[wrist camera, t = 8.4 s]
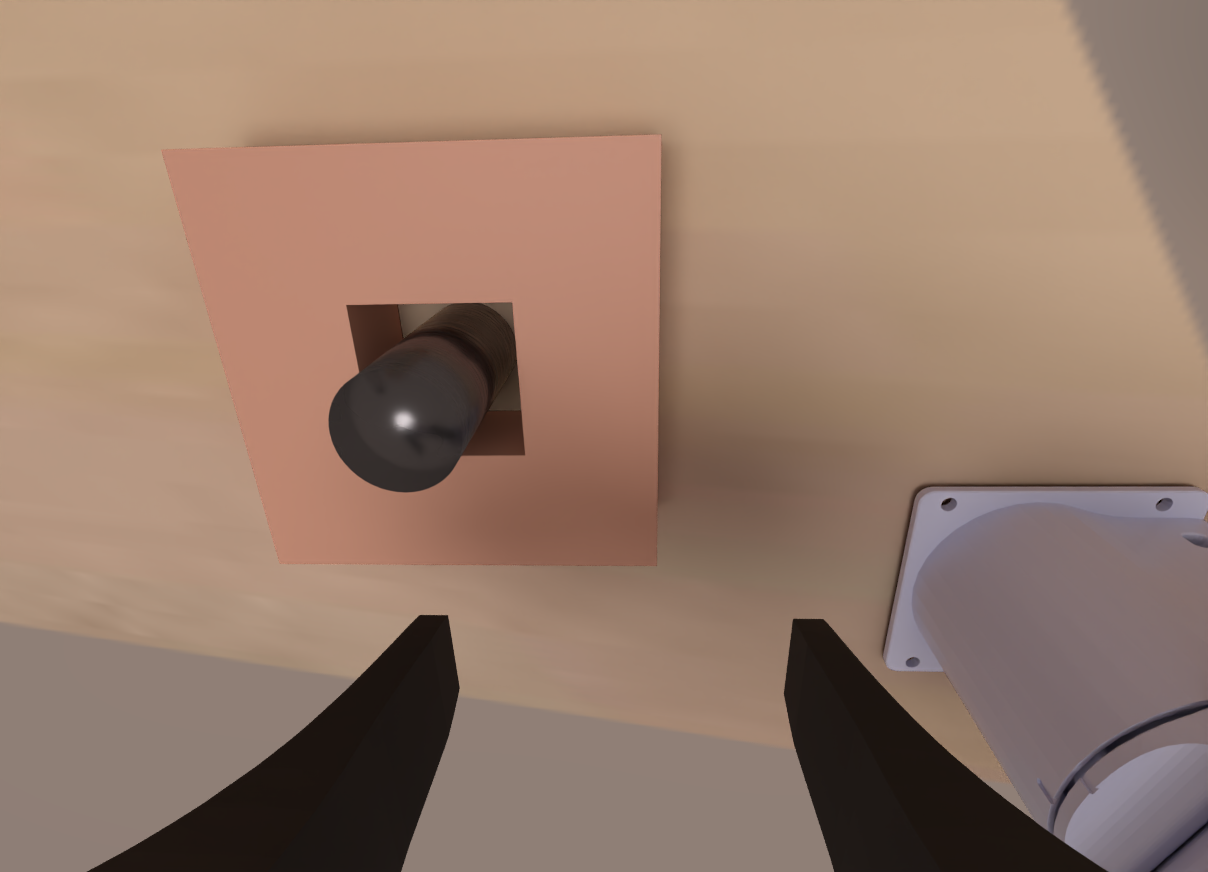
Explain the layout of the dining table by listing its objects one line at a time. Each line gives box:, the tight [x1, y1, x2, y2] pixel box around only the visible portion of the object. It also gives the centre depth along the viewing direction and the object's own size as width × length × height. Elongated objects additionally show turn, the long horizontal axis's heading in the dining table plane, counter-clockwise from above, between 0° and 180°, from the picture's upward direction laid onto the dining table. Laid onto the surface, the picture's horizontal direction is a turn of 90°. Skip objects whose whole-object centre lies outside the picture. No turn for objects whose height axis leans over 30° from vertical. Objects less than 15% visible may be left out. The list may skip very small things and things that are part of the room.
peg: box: [328, 303, 517, 493], centre depth 17 cm, size 3×3×7 cm
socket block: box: [161, 134, 661, 566], centre depth 19 cm, size 12×12×4 cm
